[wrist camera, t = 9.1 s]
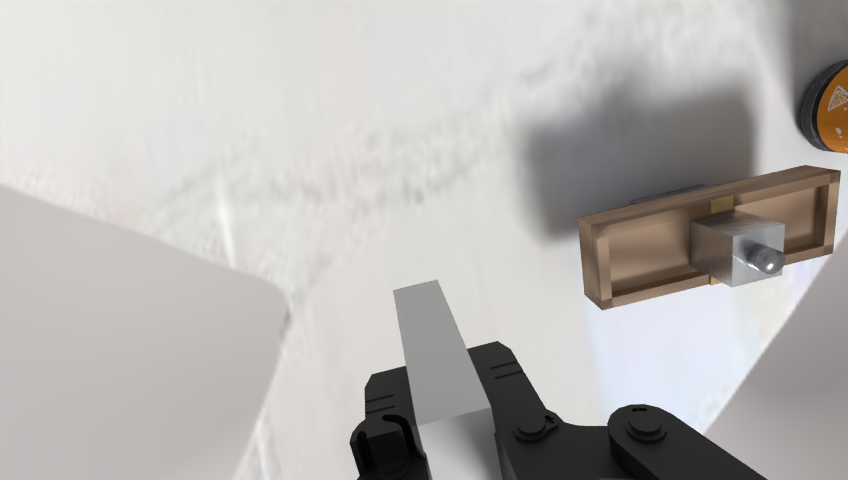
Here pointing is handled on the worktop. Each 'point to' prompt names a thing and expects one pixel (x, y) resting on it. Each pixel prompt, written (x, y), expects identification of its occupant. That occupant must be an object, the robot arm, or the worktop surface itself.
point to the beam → (671, 232)
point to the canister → (828, 110)
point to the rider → (737, 247)
